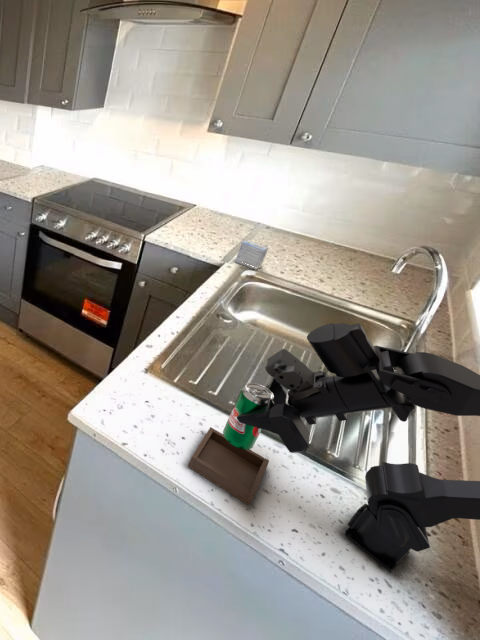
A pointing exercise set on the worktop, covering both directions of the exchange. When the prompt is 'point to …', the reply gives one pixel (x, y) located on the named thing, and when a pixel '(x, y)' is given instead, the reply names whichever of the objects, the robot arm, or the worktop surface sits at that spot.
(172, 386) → the worktop surface
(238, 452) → the tray
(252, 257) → the medicine box
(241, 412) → the soda can
